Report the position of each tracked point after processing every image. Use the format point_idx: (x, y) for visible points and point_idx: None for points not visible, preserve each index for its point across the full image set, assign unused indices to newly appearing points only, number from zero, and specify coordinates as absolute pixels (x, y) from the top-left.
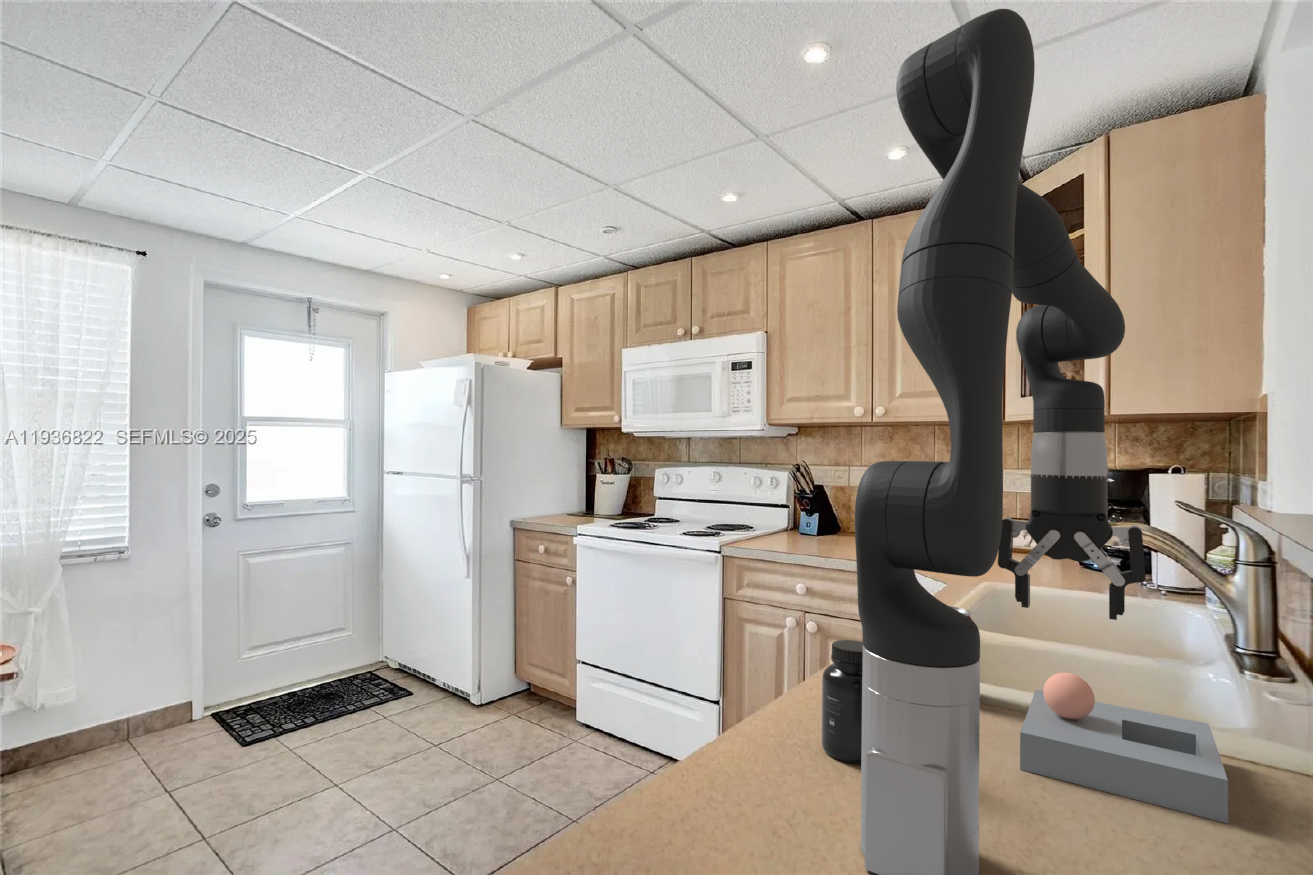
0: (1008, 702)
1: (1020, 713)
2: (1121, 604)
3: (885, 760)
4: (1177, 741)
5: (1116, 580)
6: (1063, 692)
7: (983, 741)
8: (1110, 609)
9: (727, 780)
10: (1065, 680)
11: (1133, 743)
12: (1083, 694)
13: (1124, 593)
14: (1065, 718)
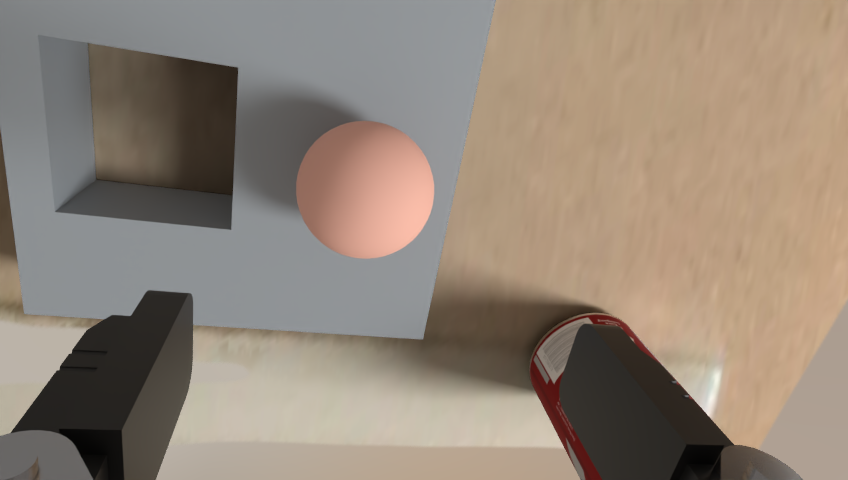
0: (457, 376)
1: (438, 327)
2: (87, 355)
3: None
4: (109, 206)
5: (24, 463)
6: (387, 136)
7: (536, 116)
8: (169, 319)
9: None
10: (382, 172)
11: (210, 46)
12: (329, 146)
13: (25, 414)
14: None
